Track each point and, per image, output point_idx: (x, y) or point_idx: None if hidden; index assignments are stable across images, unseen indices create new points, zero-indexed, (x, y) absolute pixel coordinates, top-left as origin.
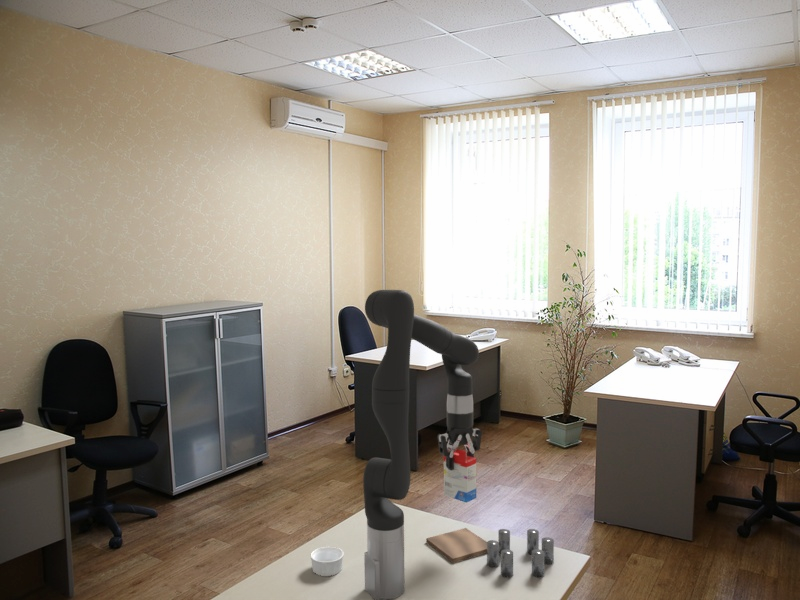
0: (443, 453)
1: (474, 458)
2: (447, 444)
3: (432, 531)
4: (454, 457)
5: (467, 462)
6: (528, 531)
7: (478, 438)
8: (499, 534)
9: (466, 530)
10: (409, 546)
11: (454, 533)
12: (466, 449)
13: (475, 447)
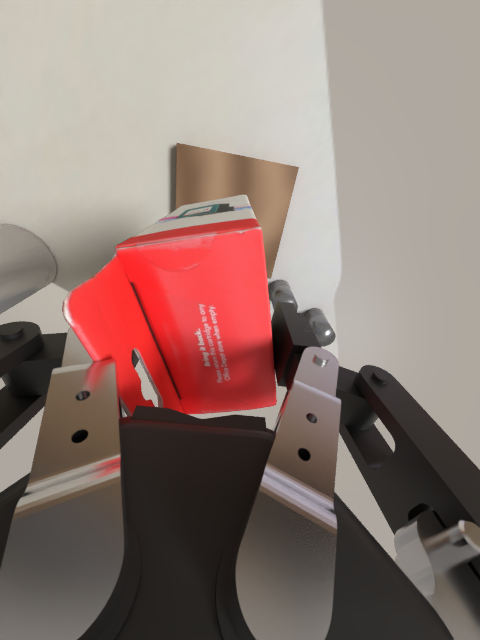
0: (5, 390)
1: (261, 407)
2: (53, 384)
3: (231, 92)
4: (151, 358)
5: (192, 412)
6: (318, 333)
7: (395, 520)
8: (273, 304)
9: (288, 181)
10: (129, 130)
11: (253, 173)
12: (299, 362)
13: (342, 418)
